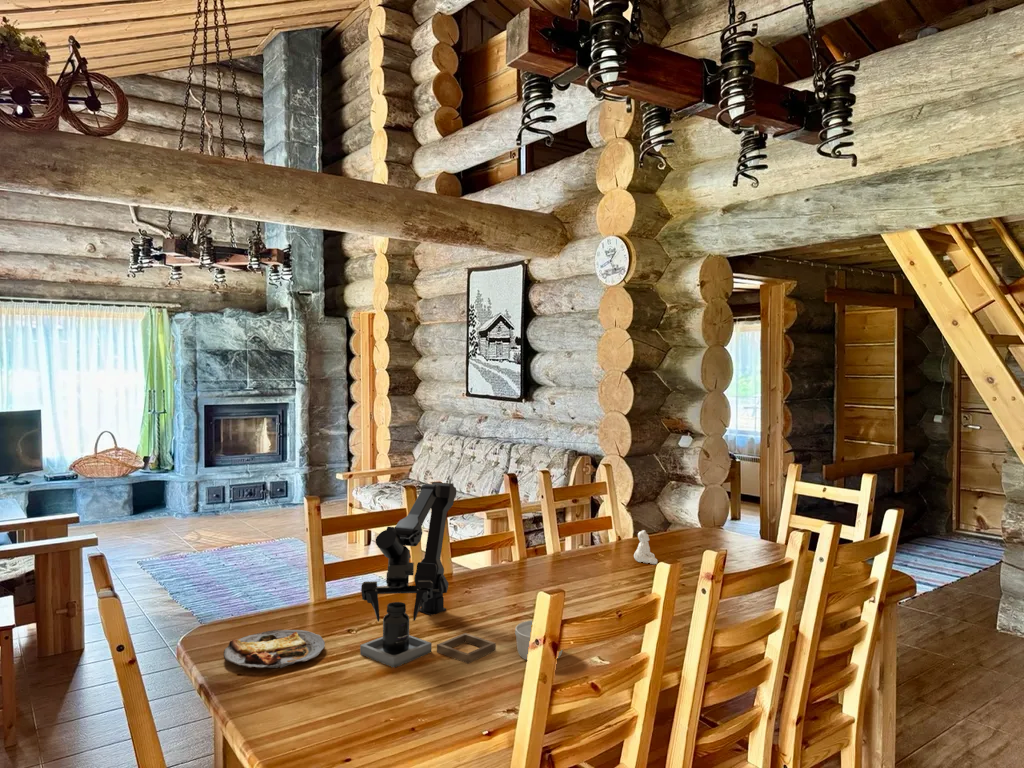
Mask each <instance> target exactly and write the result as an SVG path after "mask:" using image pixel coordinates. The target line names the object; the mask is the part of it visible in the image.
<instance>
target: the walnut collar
mask: <svg viewBox="0 0 1024 768" xmlns="http://www.w3.org/2000/svg"><path fill="white" fill-rule="evenodd" d="M465 643H467V644H471V645H473V646H476V647H479V648H476V649H474V650H472V651H470V652H468V653H467V652H465V651H462V650H459V649H456V648H455V647H457V646H459V645H462V644H465ZM452 647H453V648H452ZM496 651H497V642H494V641H491V640H488V639H485V638H482V637H479V636H476V635H474V634H470V633H468V632H464V633H462V634H458V635H457V636H454V637H452V638H450V639H447V640H445V641H442V642H439V643H438V644H436V653H438V654H441V655H443V654H444V655H443V656H446V657H449V658H451V657H452V658H451V659H454V658H455V660H457V659H458V660H457V661H460V662H463V663H465V664H469V663H472V662H474V661H476V660H478V659H481V658H483V657H485V656H486V655H489V654H491V653H494V652H496Z"/></svg>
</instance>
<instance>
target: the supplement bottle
mask: <svg viewBox="0 0 1024 768" xmlns="http://www.w3.org/2000/svg"><path fill="white" fill-rule="evenodd" d="M406 607H407V605H406V603H404V602H402V601H401V602H400V601H392V602H388V603H387V605H386V614H385V615H384V616H383V618H382V619H383V620H382V637H383V651H384V652H386V653H388V654H400V653H403V652H405V651H407V650H408V649H409V635H410V616H409V615H408V614H407V613H406V612H407V608H406Z"/></svg>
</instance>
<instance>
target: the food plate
mask: <svg viewBox="0 0 1024 768" xmlns="http://www.w3.org/2000/svg"><path fill="white" fill-rule="evenodd" d="M325 644H326V642H325V639H323V637H322V636H321V635H320V634H316V633H314V632H313V631H309V630H304V629H303V630H301V629H273V630H267V631H262V632H261V633H259V632H258V633H253V634H250V635H247V636H246V635H245V636H244V637H241V638H238V639H231V640H230V641H229V644H228V646H227V647H226V648H225V649H223V658H224V659H225V660H226V661H227V662H229V663H232V664H234V665H236V666H238V667H239V666H240V667H243V668H248V669H251V668H254V667H255V668H256V669H263V668H270V669H273V668H274V669H277V668H280V669H283V668H284V667H287V666H289V665H293V664H295V663H301V662H306V661H307V662H308V661H309V660H312V659H314V658H316V657H318V656H319V654H321V652H322V650H323V649H324V648H325V646H326V645H325ZM307 651H308V652H307ZM305 653H306V655H305ZM298 656H303V657H299V658H298Z"/></svg>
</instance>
